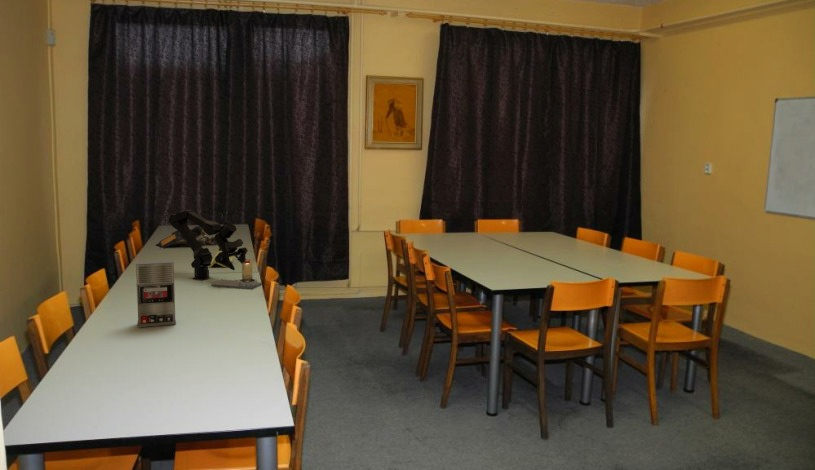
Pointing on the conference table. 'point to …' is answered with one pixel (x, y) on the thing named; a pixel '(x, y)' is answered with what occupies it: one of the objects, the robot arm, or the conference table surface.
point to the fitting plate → (237, 284)
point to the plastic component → (218, 263)
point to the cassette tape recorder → (155, 293)
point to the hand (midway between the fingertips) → (240, 268)
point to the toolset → (178, 236)
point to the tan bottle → (247, 271)
